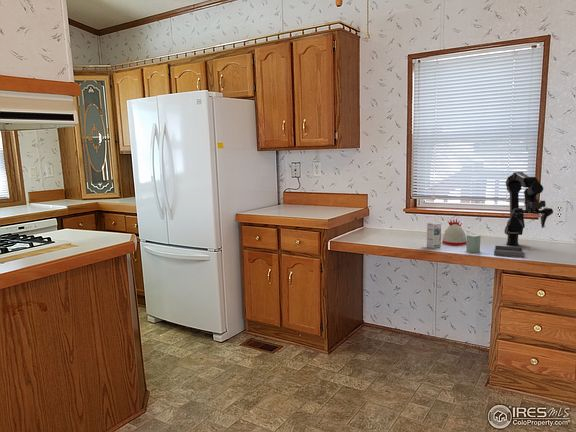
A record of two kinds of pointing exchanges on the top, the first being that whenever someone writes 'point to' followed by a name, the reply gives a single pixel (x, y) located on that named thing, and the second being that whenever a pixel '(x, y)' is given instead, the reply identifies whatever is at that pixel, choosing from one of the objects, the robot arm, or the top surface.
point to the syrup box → (434, 234)
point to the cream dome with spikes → (454, 234)
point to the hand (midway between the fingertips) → (533, 227)
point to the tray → (508, 251)
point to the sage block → (473, 243)
